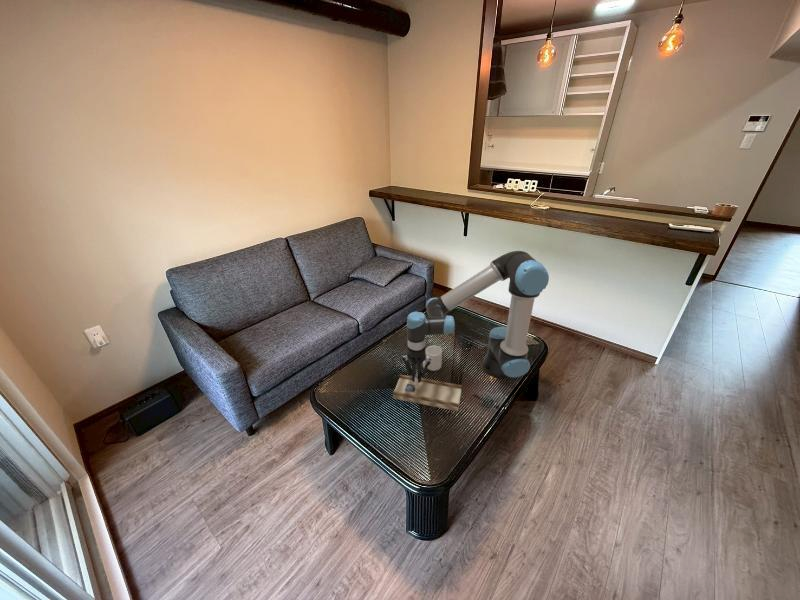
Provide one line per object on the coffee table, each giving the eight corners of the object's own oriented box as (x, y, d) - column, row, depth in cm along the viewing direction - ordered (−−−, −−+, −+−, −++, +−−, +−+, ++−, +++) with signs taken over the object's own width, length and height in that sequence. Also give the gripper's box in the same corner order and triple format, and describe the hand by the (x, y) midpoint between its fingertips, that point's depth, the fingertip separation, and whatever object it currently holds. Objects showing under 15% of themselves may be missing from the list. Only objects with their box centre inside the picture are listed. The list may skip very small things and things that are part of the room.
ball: (406, 387, 145) (412, 390, 145) (404, 392, 142) (410, 396, 142) (408, 382, 144) (415, 386, 143) (406, 388, 141) (413, 391, 140)
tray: (461, 391, 143) (461, 385, 141) (458, 411, 133) (458, 404, 131) (400, 380, 151) (399, 374, 149) (393, 398, 141) (392, 392, 139)
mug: (428, 377, 152) (429, 361, 147) (417, 369, 157) (417, 353, 152) (444, 366, 159) (445, 350, 154) (433, 358, 164) (433, 343, 159)
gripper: (433, 342, 131) (432, 383, 142) (404, 338, 134) (405, 378, 146) (429, 353, 125) (429, 394, 136) (399, 348, 128) (401, 389, 139)
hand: (416, 386), depth 141 cm, fingers closed
